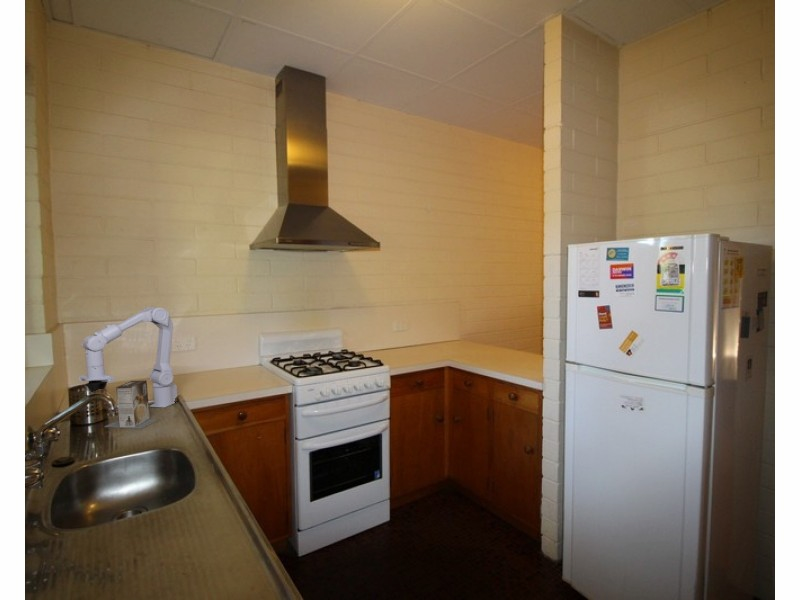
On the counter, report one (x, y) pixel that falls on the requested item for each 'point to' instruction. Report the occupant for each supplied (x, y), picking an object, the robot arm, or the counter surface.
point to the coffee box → (133, 403)
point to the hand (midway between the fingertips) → (98, 399)
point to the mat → (142, 425)
